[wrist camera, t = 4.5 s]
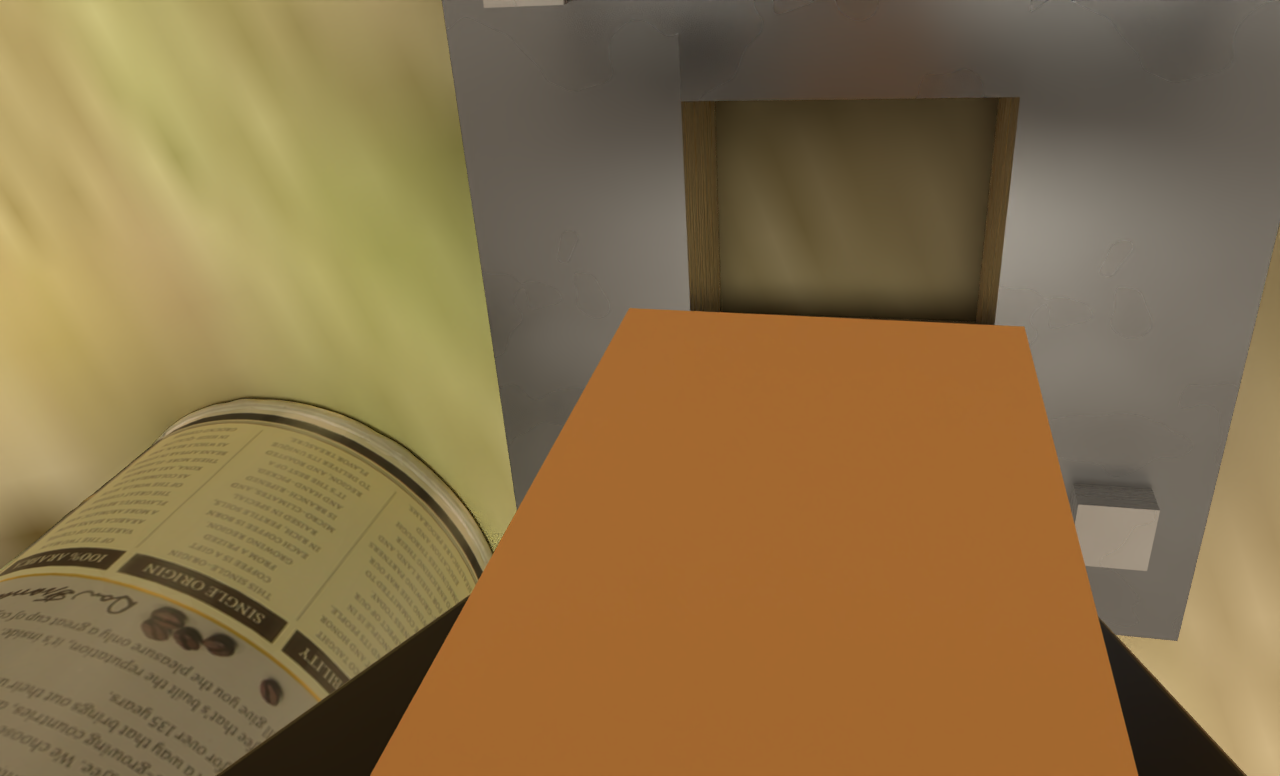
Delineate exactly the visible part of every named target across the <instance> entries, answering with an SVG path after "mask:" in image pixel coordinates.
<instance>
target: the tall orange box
mask: <svg viewBox="0 0 1280 776" xmlns="http://www.w3.org/2000/svg"><path fill="white" fill-rule="evenodd" d="M370 776H1138V772H1137V768H1136V764H1135V760H1134V756H1133V752H1132V749H1131V745H1130V741H1129V737H1128V733H1127V729H1126V725H1125V721H1124V717H1123V713H1122V709H1121V705H1120V701H1119V697H1118V693H1117V689H1116V685H1115V682H1114V678H1113V674H1112V670H1111V666H1110V662H1109V658H1108V654H1107V650H1106V646H1105V642H1104V638H1103V634H1102V630H1101V626H1100V622H1099V619H1098V615H1097V611H1096V607H1095V603H1094V599H1093V595H1092V591H1091V587H1090V583H1089V579H1088V575H1087V571H1086V567H1085V563H1084V559H1083V555H1082V552H1081V548H1080V544H1079V540H1078V536H1077V532H1076V528H1075V524H1074V520H1073V516H1072V512H1071V508H1070V504H1069V500H1068V496H1067V492H1066V489H1065V485H1064V481H1063V477H1062V473H1061V469H1060V465H1059V461H1058V457H1057V453H1056V449H1055V445H1054V441H1053V437H1052V433H1051V429H1050V425H1049V422H1048V418H1047V414H1046V410H1045V406H1044V402H1043V398H1042V394H1041V390H1040V386H1039V382H1038V378H1037V374H1036V370H1035V366H1034V362H1033V359H1032V355H1031V351H1030V347H1029V343H1028V339H1027V335H1026V331H1025V327H1023V326H1001V325H980V324H959V323H937V322H916V321H895V320H873V319H852V318H830V317H809V316H788V315H766V314H745V313H724V312H702V311H681V310H660V309H638V308H629V310H628V311H627V313H626V315H625V317H624V319H623V320H622V322H621V324H620V326H619V328H618V329H617V331H616V333H615V335H614V337H613V338H612V340H611V342H610V344H609V346H608V347H607V349H606V351H605V353H604V355H603V356H602V358H601V360H600V362H599V364H598V365H597V367H596V369H595V371H594V373H593V374H592V376H591V378H590V380H589V382H588V383H587V385H586V387H585V389H584V391H583V392H582V394H581V396H580V398H579V400H578V402H577V403H576V405H575V407H574V409H573V411H572V412H571V414H570V416H569V418H568V420H567V421H566V423H565V425H564V427H563V429H562V430H561V432H560V434H559V436H558V438H557V439H556V441H555V443H554V445H553V447H552V448H551V450H550V452H549V454H548V456H547V457H546V459H545V461H544V463H543V465H542V466H541V468H540V470H539V472H538V474H537V475H536V477H535V479H534V481H533V483H532V484H531V486H530V488H529V490H528V492H527V493H526V495H525V497H524V499H523V501H522V502H521V504H520V506H519V508H518V510H517V512H516V513H515V515H514V517H513V519H512V521H511V522H510V524H509V526H508V528H507V530H506V531H505V533H504V535H503V537H502V539H501V540H500V542H499V544H498V546H497V548H496V549H495V551H494V553H493V555H492V557H491V558H490V560H489V562H488V564H487V566H486V567H485V569H484V571H483V573H482V575H481V576H480V578H479V580H478V582H477V584H476V585H475V587H474V589H473V591H472V593H471V594H470V596H469V598H468V600H467V602H466V603H465V605H464V607H463V609H462V611H461V612H460V614H459V616H458V618H457V620H456V622H455V623H454V625H453V627H452V629H451V631H450V632H449V634H448V636H447V638H446V640H445V641H444V643H443V645H442V647H441V649H440V650H439V652H438V654H437V656H436V658H435V659H434V661H433V663H432V665H431V667H430V668H429V670H428V672H427V674H426V676H425V677H424V679H423V681H422V683H421V685H420V686H419V688H418V690H417V692H416V694H415V695H414V697H413V699H412V701H411V703H410V704H409V706H408V708H407V710H406V712H405V713H404V715H403V717H402V719H401V721H400V722H399V724H398V726H397V728H396V730H395V732H394V733H393V735H392V737H391V739H390V741H389V742H388V744H387V746H386V748H385V750H384V751H383V753H382V755H381V757H380V759H379V760H378V762H377V764H376V766H375V768H374V769H373V771H372V773H371V775H370Z"/></svg>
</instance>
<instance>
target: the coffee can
mask: <svg viewBox="0 0 1280 776" xmlns="http://www.w3.org/2000/svg"><path fill="white" fill-rule="evenodd" d="M492 555H493V554H492V552H491V550H490V547H489V545H488V543H487V541H486V539H485V537H484V535H483V534H482V532H481V530H480V529H479V527H478V525H477V524H476V522H475V520H474V519H473V517H472V516H471V514H470V512H469V511H468V510H467V509H466V507H465V506H464V505H463V504H462V502H461V501H460V500H459V499H458V498H457V496H456V495H455V494H454V493H453V492H452V490H451V489H450V488H449V487H448V486H447V485H446V484H445V483H444V482H443V481H442V480H441V479H440V478H439V477H438V476H437V475H436V474H435V473H434V472H433V471H432V470H431V469H430V468H428V467H427V466H426V465H425V464H424V463H423V462H421V461H420V460H419V459H417V458H416V457H415V456H414V455H413V454H412V453H411V452H410V451H408V450H407V449H405V448H404V447H402V446H401V445H399V444H398V443H396V442H395V441H393V440H391V439H389V438H387V437H385V436H383V435H381V434H379V433H377V432H375V431H374V430H372V429H371V428H369V427H367V426H366V425H364V424H362V423H360V422H357V421H355V420H353V419H351V418H348V417H346V416H344V415H341V414H338V413H335V412H332V411H329V410H325V409H322V408H318V407H315V406H311V405H307V404H302V403H297V402H290V401H284V400H275V399H271V400H261V399H239V400H235V401H231V402H228V403H221V404H215V405H211V406H209V407H206V408H203V409H200V410H198V411H195V412H193V413H190V414H188V415H187V416H185V417H183V418H182V419H180V420H179V421H177V422H176V423H174V424H173V425H171V426H170V427H169V428H168V429H167V430H166V431H165V432H164V433H163V434H162V435H161V436H160V437H159V438H158V439H157V440H156V441H155V442H154V443H153V445H152V446H151V447H150V448H148V449H147V450H146V451H145V452H144V453H142V454H141V455H140V456H139V457H137V458H136V459H135V460H134V461H133V462H131V463H130V464H129V465H128V466H127V467H126V468H124V469H123V470H122V471H121V472H120V473H118V474H117V475H116V476H115V477H113V478H112V479H111V480H109V481H108V482H107V483H106V484H104V485H103V486H102V487H101V488H100V489H98V490H97V491H96V492H95V493H94V494H92V495H91V496H90V497H88V498H87V499H86V500H84V501H83V502H82V503H81V504H80V505H79V506H78V507H77V508H75V509H74V510H72V511H71V512H69V513H68V514H67V515H66V516H64V517H63V518H62V519H61V520H60V521H59V522H58V523H56V524H55V525H54V526H53V527H52V528H51V529H50V530H48V531H47V532H46V533H45V534H44V535H43V536H42V537H40V538H39V539H38V540H37V541H36V542H34V543H33V544H32V545H31V546H29V547H28V548H27V549H25V550H24V551H23V552H22V553H20V554H19V555H18V556H17V557H15V558H14V559H13V560H11V561H10V562H9V563H8V564H6V565H5V566H4V567H3V568H2V569H0V776H215V775H217V774H218V773H220V772H221V771H223V770H224V769H225V768H227V767H228V766H230V765H231V764H232V763H234V762H235V761H237V760H238V759H239V758H241V757H242V756H244V755H245V754H246V753H248V752H249V751H251V750H252V749H253V748H255V747H256V746H258V745H259V744H260V743H262V742H263V741H265V740H266V739H267V738H269V737H270V736H272V735H273V734H274V733H276V732H277V731H279V730H280V729H281V728H283V727H284V726H286V725H287V724H288V723H290V722H291V721H293V720H294V719H296V718H297V717H298V716H300V715H301V714H303V713H304V712H305V711H307V710H308V709H310V708H311V707H312V706H314V705H315V704H317V703H318V702H319V701H321V700H322V699H324V698H325V697H326V696H328V695H329V694H331V693H332V692H333V691H335V690H336V689H338V688H339V687H340V686H342V685H343V684H345V683H346V682H347V681H349V680H350V679H352V678H353V677H354V676H356V675H357V674H359V673H360V672H361V671H363V670H364V669H366V668H367V667H369V666H370V665H371V664H373V663H374V662H376V661H377V660H378V659H380V658H381V657H383V656H384V655H385V654H387V653H388V652H390V651H391V650H392V649H394V648H395V647H397V646H398V645H399V644H401V643H402V642H404V641H405V640H406V639H408V638H409V637H411V636H412V635H413V634H415V633H416V632H418V631H419V630H420V629H422V628H423V627H425V626H426V625H427V624H429V623H430V622H432V621H433V620H435V619H436V618H437V617H439V616H440V615H442V614H443V613H444V612H446V611H447V610H449V609H450V608H451V607H453V606H454V605H456V604H457V603H458V602H460V601H461V600H463V599H464V598H465V597H467V596H468V595H470V594H471V593H472V591H473V589H474V587H475V585H476V584H477V582H478V580H479V578H480V576H481V575H482V573H483V571H484V569H485V567H486V566H487V564H488V562H489V560H490V558H491V557H492Z"/></svg>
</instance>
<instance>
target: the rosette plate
mask: <svg viewBox="0 0 1280 776" xmlns="http://www.w3.org/2000/svg"><path fill="white" fill-rule="evenodd" d="M442 5H443V11H444V18H445V25H446V32H447V39H448V45H449V52H450V59H451V66H452V73H453V79H454V86H455V93H456V100H457V106H458V113H459V120H460V127H461V134H462V140H463V147H464V154H465V161H466V168H467V174H468V181H469V188H470V195H471V201H472V208H473V215H474V222H475V229H476V235H477V242H478V249H479V256H480V263H481V269H482V276H483V283H484V290H485V297H486V303H487V310H488V317H489V324H490V330H491V337H492V344H493V351H494V358H495V364H496V371H497V378H498V385H499V392H500V398H501V405H502V412H503V419H504V425H505V432H506V439H507V446H508V453H509V459H510V466H511V473H512V480H513V487H514V493H515V500H516V507H517V510H518V508H519V506H520V504H521V502H522V501H523V499H524V497H525V495H526V493H527V492H528V490H529V488H530V486H531V484H532V483H533V481H534V479H535V477H536V475H537V474H538V472H539V470H540V468H541V466H542V465H543V463H544V461H545V459H546V457H547V456H548V454H549V452H550V450H551V448H552V447H553V445H554V443H555V441H556V439H557V438H558V436H559V434H560V432H561V430H562V429H563V427H564V425H565V423H566V421H567V420H568V418H569V416H570V414H571V412H572V411H573V409H574V407H575V405H576V403H577V402H578V400H579V398H580V396H581V394H582V392H583V391H584V389H585V387H586V385H587V383H588V382H589V380H590V378H591V376H592V374H593V373H594V371H595V369H596V367H597V365H598V364H599V362H600V360H601V358H602V356H603V355H604V353H605V351H606V349H607V347H608V346H609V344H610V342H611V340H612V338H613V337H614V335H615V333H616V331H617V329H618V328H619V326H620V324H621V322H622V320H623V319H624V317H625V315H626V313H627V311H628V310H629V308H638V309H660V310H681V311H702V312H721V295H720V260H719V225H718V190H717V155H716V120H715V101H751V100H830V99H910V98H990V97H999V100H998V110H997V120H996V130H995V139H994V149H993V159H992V169H991V179H990V189H989V198H988V208H987V218H986V228H985V238H984V248H983V257H982V267H981V277H980V287H979V297H978V307H977V316H976V321H950V320H922V319H894V318H865V317H837V316H809V315H788V316H809V317H830V318H852V319H873V320H895V321H916V322H937V323H959V324H980V325H1001V326H1023V327H1025V331H1026V335H1027V339H1028V343H1029V347H1030V351H1031V355H1032V359H1033V362H1034V366H1035V370H1036V374H1037V378H1038V382H1039V386H1040V390H1041V394H1042V398H1043V402H1044V406H1045V410H1046V414H1047V418H1048V422H1049V425H1050V429H1051V433H1052V437H1053V441H1054V445H1055V449H1056V453H1057V457H1058V461H1059V465H1060V469H1061V473H1062V477H1063V481H1064V485H1065V489H1066V492H1067V496H1068V500H1069V504H1070V508H1071V512H1072V516H1073V520H1074V524H1075V528H1076V532H1077V536H1078V540H1079V544H1080V548H1081V552H1082V555H1083V559H1084V563H1085V567H1086V571H1087V575H1088V579H1089V583H1090V587H1091V591H1092V595H1093V599H1094V603H1095V607H1096V611H1097V615H1098V617H1099V618H1100V619H1101V620H1102V621H1103V622H1104V623H1105V624H1106V625H1107V626H1108V627H1109V628H1110V629H1111V631H1112V632H1113V633H1114V634H1115V635H1124V636H1134V637H1144V638H1154V639H1164V640H1174V641H1177V640H1178V636H1179V632H1180V628H1181V624H1182V620H1183V616H1184V612H1185V608H1186V603H1187V599H1188V595H1189V591H1190V587H1191V583H1192V579H1193V575H1194V571H1195V567H1196V563H1197V559H1198V554H1199V550H1200V546H1201V542H1202V538H1203V534H1204V530H1205V526H1206V522H1207V518H1208V514H1209V509H1210V505H1211V501H1212V497H1213V493H1214V489H1215V485H1216V481H1217V477H1218V473H1219V469H1220V465H1221V460H1222V456H1223V452H1224V448H1225V444H1226V440H1227V436H1228V432H1229V428H1230V424H1231V420H1232V416H1233V411H1234V407H1235V403H1236V399H1237V395H1238V391H1239V387H1240V383H1241V379H1242V375H1243V371H1244V366H1245V362H1246V358H1247V354H1248V350H1249V346H1250V342H1251V338H1252V334H1253V330H1254V326H1255V322H1256V317H1257V313H1258V309H1259V305H1260V301H1261V297H1262V293H1263V289H1264V285H1265V281H1266V277H1267V272H1268V268H1269V264H1270V260H1271V256H1272V252H1273V248H1274V244H1275V240H1276V236H1277V232H1278V228H1279V223H1280V0H442ZM724 313H725V312H724ZM745 314H753V313H745ZM766 315H781V314H766Z"/></svg>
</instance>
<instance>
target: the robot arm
mask: <svg viewBox="0 0 1280 776" xmlns="http://www.w3.org/2000/svg"><path fill="white" fill-rule="evenodd" d="M469 596H470V595H468V596H467V597H465V598H464V599H463V600H461V601H460V602H458V603H457V604H456V605H454V606H453V607H451V608H450V609H449V610H447V611H446V612H444V613H443V614H442V615H440V616H439V617H437V618H436V619H435V620H433V621H432V622H430V623H429V624H427V625H426V626H425V627H423V628H422V629H420V630H419V631H418V632H416V633H415V634H413V635H412V636H411V637H409V638H408V639H406V640H405V641H404V642H402V643H401V644H399V645H398V646H397V647H395V648H394V649H392V650H391V651H390V652H388V653H387V654H385V655H384V656H383V657H381V658H380V659H378V660H377V661H376V662H374V663H373V664H371V665H370V666H369V667H367V668H366V669H364V670H363V671H361V672H360V673H359V674H357V675H356V676H354V677H353V678H352V679H350V680H349V681H347V682H346V683H345V684H343V685H342V686H340V687H339V688H338V689H336V690H335V691H333V692H332V693H331V694H329V695H328V696H326V697H325V698H324V699H322V700H321V701H319V702H318V703H317V704H315V705H314V706H312V707H311V708H310V709H308V710H307V711H305V712H304V713H303V714H301V715H300V716H298V717H297V718H296V719H294V720H293V721H291V722H290V723H288V724H287V725H286V726H284V727H283V728H281V729H280V730H279V731H277V732H276V733H274V734H273V735H272V736H270V737H269V738H267V739H266V740H265V741H263V742H262V743H260V744H259V745H258V746H256V747H255V748H253V749H252V750H251V751H249V752H248V753H246V754H245V755H244V756H242V757H241V758H239V759H238V760H237V761H235V762H234V763H232V764H231V765H230V766H228V767H227V768H225V769H224V770H223V771H221V772H220V773H218V774H217V775H215V776H370V775H371V773H372V771H373V769H374V768H375V766H376V764H377V762H378V760H379V759H380V757H381V755H382V753H383V751H384V750H385V748H386V746H387V744H388V742H389V741H390V739H391V737H392V735H393V733H394V732H395V730H396V728H397V726H398V724H399V722H400V721H401V719H402V717H403V715H404V713H405V712H406V710H407V708H408V706H409V704H410V703H411V701H412V699H413V697H414V695H415V694H416V692H417V690H418V688H419V686H420V685H421V683H422V681H423V679H424V677H425V676H426V674H427V672H428V670H429V668H430V667H431V665H432V663H433V661H434V659H435V658H436V656H437V654H438V652H439V650H440V649H441V647H442V645H443V643H444V641H445V640H446V638H447V636H448V634H449V632H450V631H451V629H452V627H453V625H454V623H455V622H456V620H457V618H458V616H459V614H460V612H461V611H462V609H463V607H464V605H465V603H466V602H467V600H468V598H469ZM1098 619H1099V622H1100V626H1101V630H1102V634H1103V638H1104V642H1105V646H1106V650H1107V654H1108V658H1109V662H1110V666H1111V670H1112V674H1113V678H1114V682H1115V685H1116V689H1117V693H1118V697H1119V701H1120V705H1121V709H1122V713H1123V717H1124V721H1125V725H1126V729H1127V733H1128V737H1129V741H1130V745H1131V749H1132V752H1133V756H1134V760H1135V764H1136V768H1137V772H1138V776H1247V775H1246V774H1245V773H1244V772H1243V771H1242V770H1241V769H1240V768H1239V767H1238V766H1237V765H1236V764H1235V763H1234V761H1233V760H1232V759H1231V758H1230V757H1229V756H1228V755H1227V754H1226V753H1225V752H1224V751H1223V750H1222V749H1221V748H1220V746H1219V745H1218V744H1217V743H1216V742H1215V741H1214V740H1213V739H1212V738H1211V737H1210V736H1209V735H1208V734H1207V732H1206V731H1205V730H1204V729H1203V728H1202V727H1201V726H1200V725H1199V724H1198V723H1197V722H1196V721H1195V720H1194V719H1193V717H1192V716H1191V715H1190V714H1189V713H1188V712H1187V711H1186V710H1185V709H1184V708H1183V707H1182V706H1181V705H1180V704H1179V702H1178V701H1177V700H1176V699H1175V698H1174V697H1173V696H1172V695H1171V694H1170V693H1169V692H1168V691H1167V690H1166V688H1165V687H1164V686H1163V685H1162V684H1161V683H1160V682H1159V681H1158V680H1157V679H1156V678H1155V677H1154V676H1153V675H1152V673H1151V672H1150V671H1149V670H1148V669H1147V668H1146V667H1145V666H1144V665H1143V664H1142V663H1141V662H1140V661H1139V660H1138V658H1137V657H1136V656H1135V655H1134V654H1133V653H1132V652H1131V651H1130V650H1129V649H1128V648H1127V647H1126V646H1125V644H1124V643H1123V642H1122V641H1121V640H1120V639H1119V638H1118V637H1117V636H1116V635H1115V634H1114V633H1113V632H1112V631H1111V629H1110V628H1109V627H1108V626H1107V625H1106V624H1105V623H1104V622H1103V621H1102V620H1101V619H1100V618H1099V617H1098Z"/></svg>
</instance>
